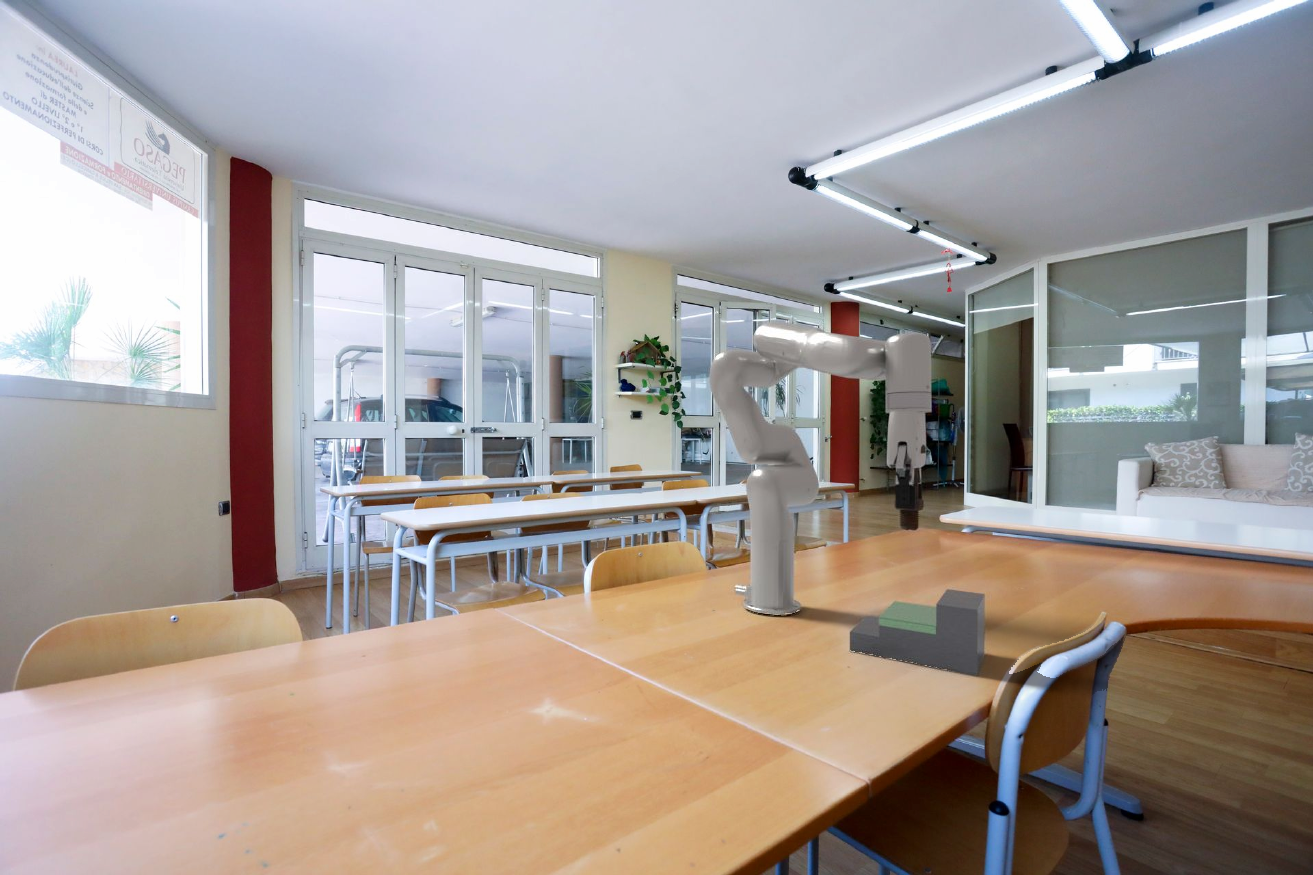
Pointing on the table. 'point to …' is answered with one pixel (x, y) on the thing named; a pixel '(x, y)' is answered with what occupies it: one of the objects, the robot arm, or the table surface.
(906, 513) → the bolt
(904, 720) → the table surface
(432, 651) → the table surface
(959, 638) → the stepped stand
